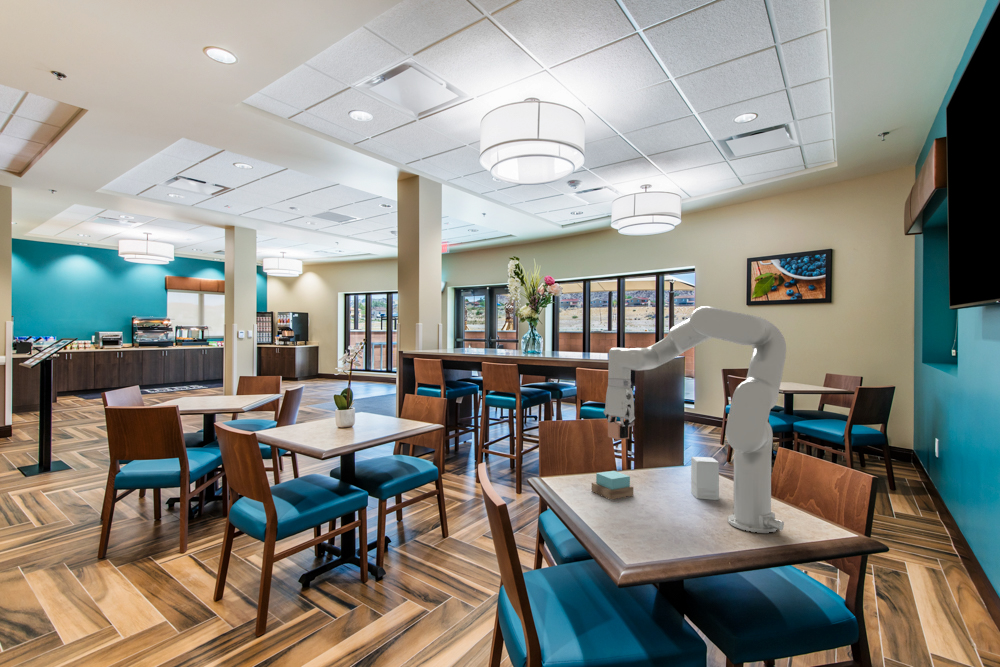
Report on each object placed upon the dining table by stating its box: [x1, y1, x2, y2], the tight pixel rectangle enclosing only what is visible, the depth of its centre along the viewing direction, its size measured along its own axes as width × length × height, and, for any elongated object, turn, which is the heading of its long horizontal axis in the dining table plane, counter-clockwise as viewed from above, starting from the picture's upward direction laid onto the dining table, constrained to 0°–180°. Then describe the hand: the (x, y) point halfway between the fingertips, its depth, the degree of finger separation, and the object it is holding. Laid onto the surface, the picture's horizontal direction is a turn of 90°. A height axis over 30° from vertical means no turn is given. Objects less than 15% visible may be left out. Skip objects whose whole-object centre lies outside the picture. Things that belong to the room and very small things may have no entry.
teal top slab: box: [595, 470, 631, 490], centre depth 162 cm, size 8×8×4 cm
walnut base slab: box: [590, 481, 634, 500], centre depth 162 cm, size 10×10×4 cm
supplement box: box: [690, 456, 720, 501], centre depth 160 cm, size 7×7×13 cm
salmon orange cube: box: [607, 421, 630, 440], centre depth 162 cm, size 5×5×5 cm
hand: (618, 435), depth 162 cm, fingers closed on salmon orange cube, 5 cm apart
